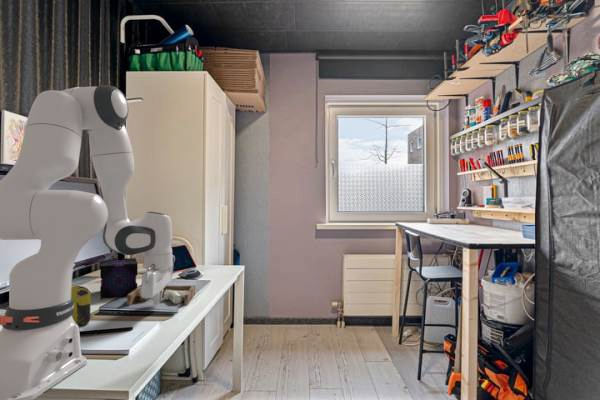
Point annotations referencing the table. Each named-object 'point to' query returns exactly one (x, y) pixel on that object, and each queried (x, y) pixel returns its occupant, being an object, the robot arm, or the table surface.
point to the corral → (188, 296)
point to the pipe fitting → (175, 296)
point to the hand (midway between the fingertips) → (157, 303)
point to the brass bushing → (140, 297)
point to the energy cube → (118, 277)
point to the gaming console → (81, 305)
